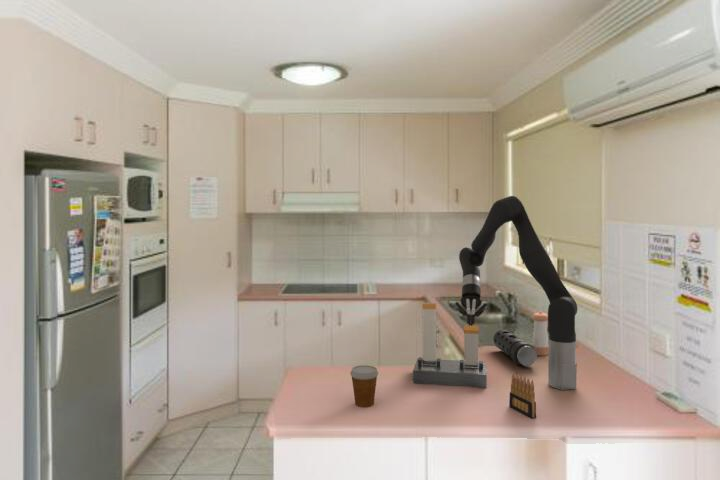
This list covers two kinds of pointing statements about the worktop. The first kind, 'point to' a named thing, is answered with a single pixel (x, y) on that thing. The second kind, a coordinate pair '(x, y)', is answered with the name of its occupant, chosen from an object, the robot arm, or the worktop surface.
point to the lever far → (429, 333)
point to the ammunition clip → (522, 396)
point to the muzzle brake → (515, 348)
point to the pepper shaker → (540, 333)
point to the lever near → (471, 346)
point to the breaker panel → (450, 373)
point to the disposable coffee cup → (364, 384)
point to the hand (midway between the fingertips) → (470, 324)
